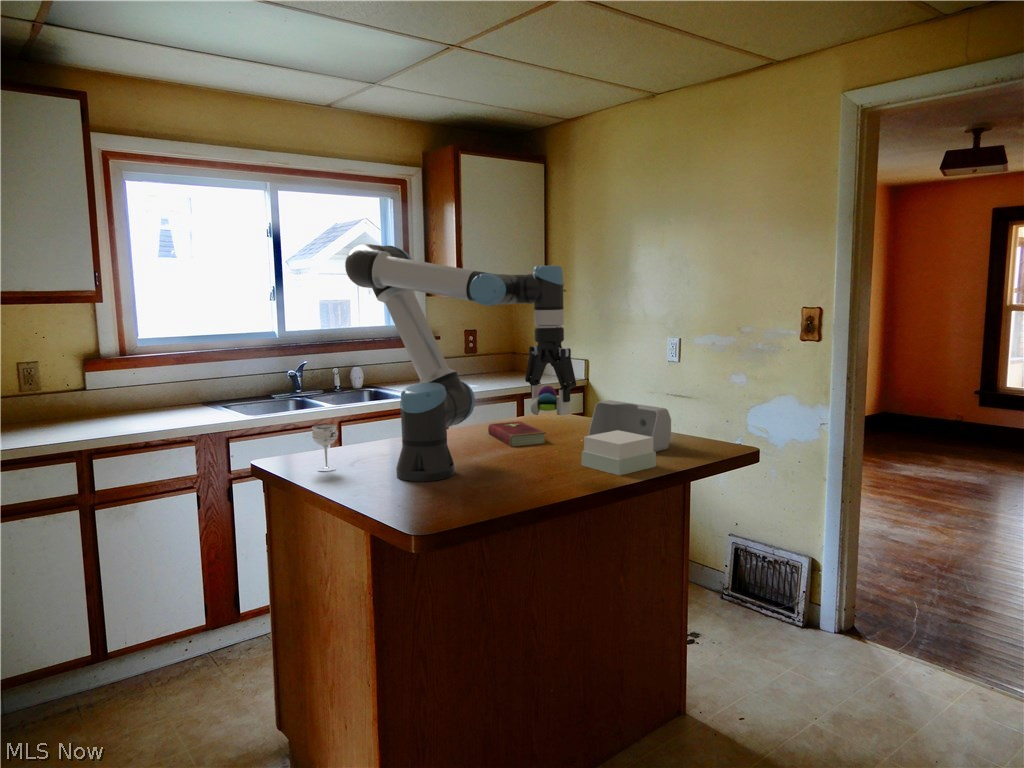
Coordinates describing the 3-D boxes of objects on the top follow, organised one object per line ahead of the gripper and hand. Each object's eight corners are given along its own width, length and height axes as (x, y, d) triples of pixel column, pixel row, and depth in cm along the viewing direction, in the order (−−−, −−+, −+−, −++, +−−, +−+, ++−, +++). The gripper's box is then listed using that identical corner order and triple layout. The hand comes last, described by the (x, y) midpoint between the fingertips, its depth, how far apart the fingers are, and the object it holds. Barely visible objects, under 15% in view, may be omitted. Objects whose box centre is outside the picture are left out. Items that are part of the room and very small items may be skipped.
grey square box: (619, 475, 178) (619, 444, 177) (581, 465, 189) (581, 436, 188) (655, 466, 186) (656, 437, 185) (617, 457, 197) (617, 429, 196)
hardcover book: (510, 448, 214) (510, 434, 213) (488, 435, 233) (487, 423, 233) (546, 444, 218) (546, 431, 217) (521, 432, 237) (521, 420, 237)
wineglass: (313, 474, 185) (311, 429, 183) (313, 468, 191) (311, 425, 190) (340, 471, 186) (337, 427, 185) (339, 466, 193) (337, 423, 191)
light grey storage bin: (682, 447, 210) (683, 406, 208) (648, 455, 200) (648, 412, 198) (620, 434, 229) (620, 397, 227) (586, 441, 219) (586, 402, 218)
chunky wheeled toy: (564, 410, 185) (564, 383, 184) (563, 417, 175) (563, 388, 174) (533, 410, 186) (532, 383, 185) (530, 417, 176) (529, 388, 175)
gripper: (590, 327, 171) (591, 415, 174) (532, 325, 190) (533, 405, 192) (567, 328, 167) (568, 419, 170) (510, 326, 185) (512, 408, 188)
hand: (550, 412), depth 181 cm, fingers closed on chunky wheeled toy, 10 cm apart
